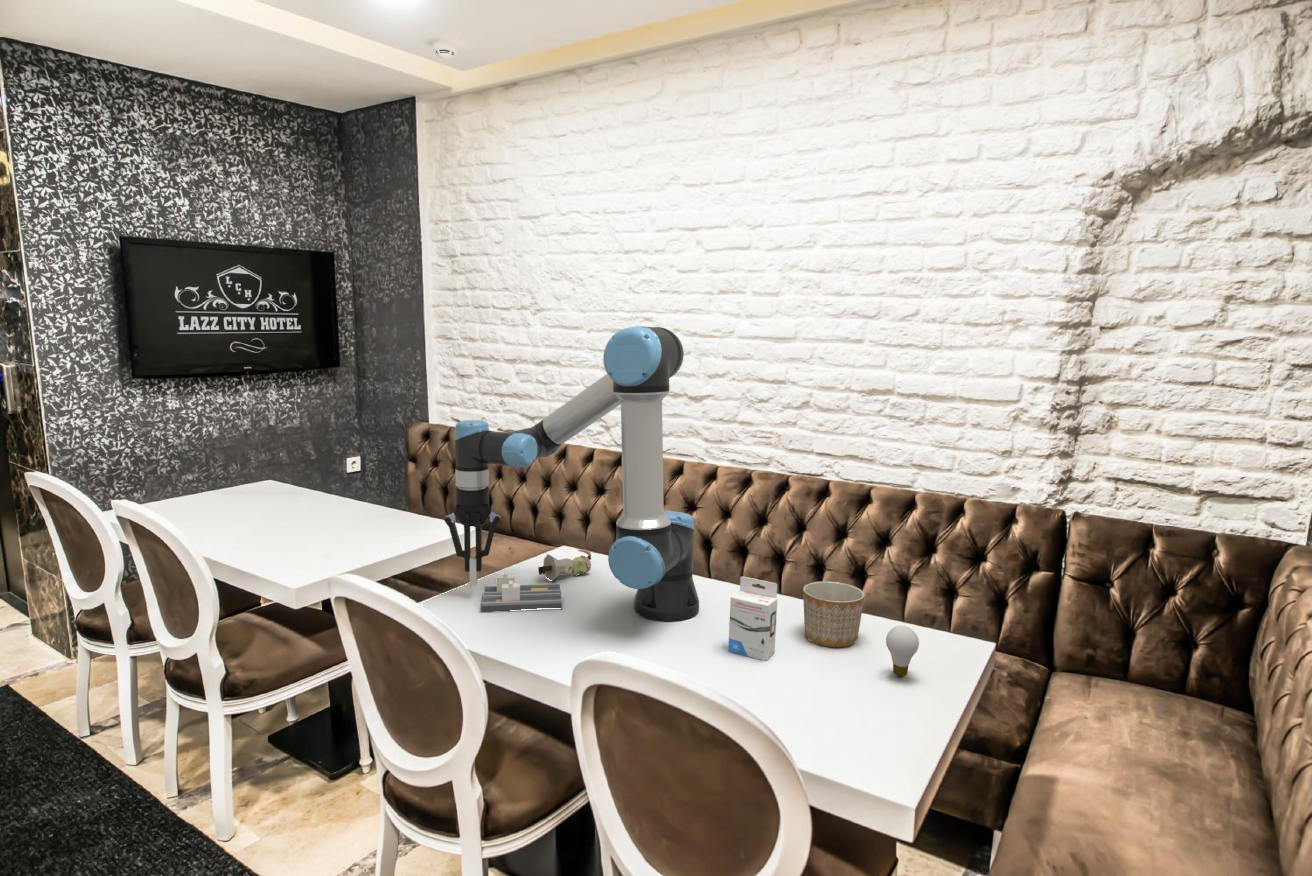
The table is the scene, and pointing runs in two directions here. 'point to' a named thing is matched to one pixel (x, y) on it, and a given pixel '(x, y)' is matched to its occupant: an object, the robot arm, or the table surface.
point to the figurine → (565, 565)
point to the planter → (832, 613)
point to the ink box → (753, 619)
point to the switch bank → (523, 598)
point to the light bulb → (902, 648)
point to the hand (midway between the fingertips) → (473, 584)
